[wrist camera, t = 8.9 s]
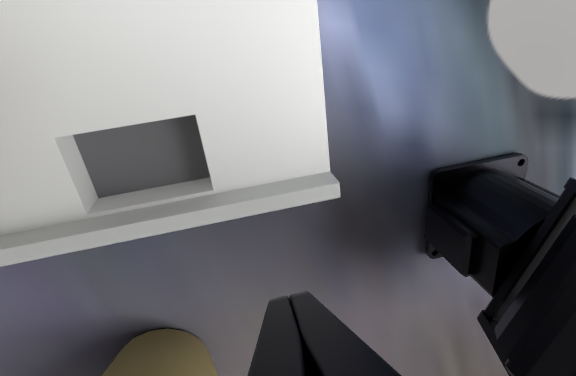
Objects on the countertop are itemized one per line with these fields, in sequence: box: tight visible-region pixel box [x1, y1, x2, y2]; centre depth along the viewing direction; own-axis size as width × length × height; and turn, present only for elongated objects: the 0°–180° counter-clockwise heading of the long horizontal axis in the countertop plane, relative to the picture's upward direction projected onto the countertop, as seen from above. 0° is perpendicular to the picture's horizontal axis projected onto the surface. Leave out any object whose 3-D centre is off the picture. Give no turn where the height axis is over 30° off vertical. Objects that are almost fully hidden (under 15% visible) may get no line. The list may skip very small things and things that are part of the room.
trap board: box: [0, 0, 341, 267], centre depth 13 cm, size 22×16×5 cm
